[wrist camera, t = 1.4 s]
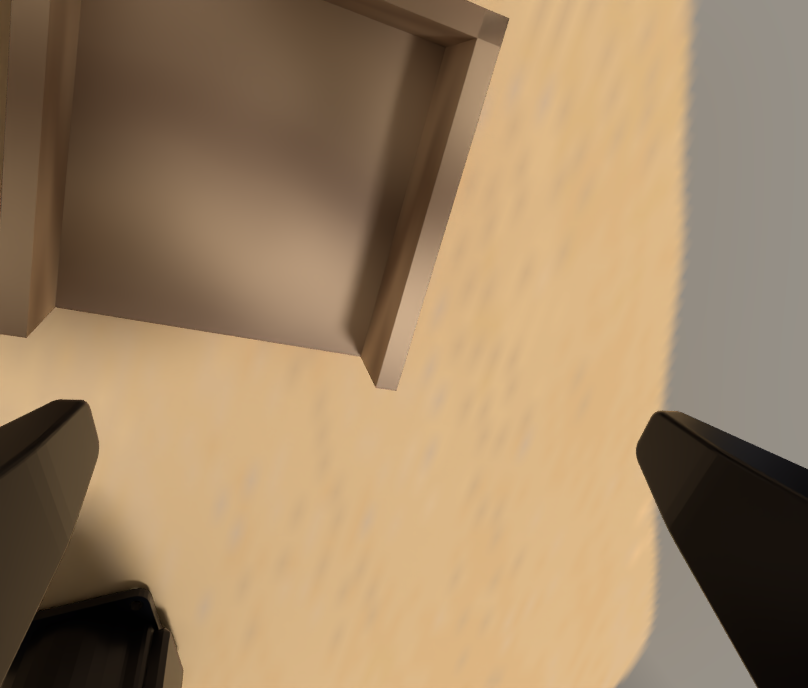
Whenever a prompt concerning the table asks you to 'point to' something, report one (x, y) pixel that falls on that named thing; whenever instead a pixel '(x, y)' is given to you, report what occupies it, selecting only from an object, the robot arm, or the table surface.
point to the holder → (239, 164)
